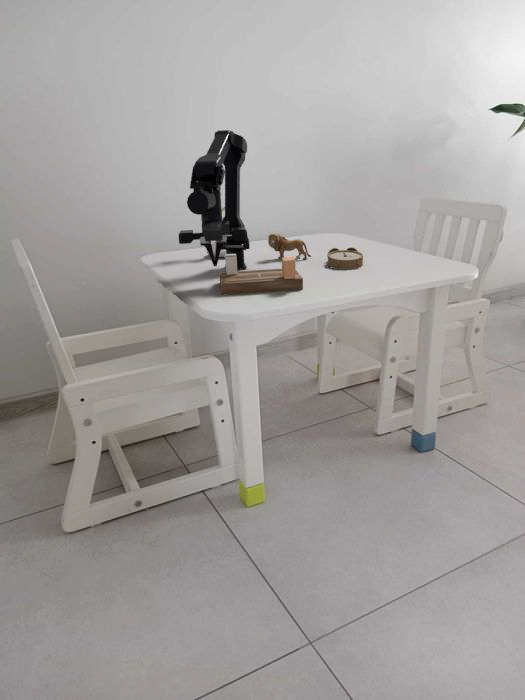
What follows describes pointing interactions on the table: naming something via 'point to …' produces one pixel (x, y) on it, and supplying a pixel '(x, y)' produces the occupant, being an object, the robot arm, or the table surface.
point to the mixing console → (258, 282)
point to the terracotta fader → (288, 268)
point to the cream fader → (231, 264)
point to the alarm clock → (345, 258)
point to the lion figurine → (287, 245)
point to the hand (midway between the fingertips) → (215, 266)
